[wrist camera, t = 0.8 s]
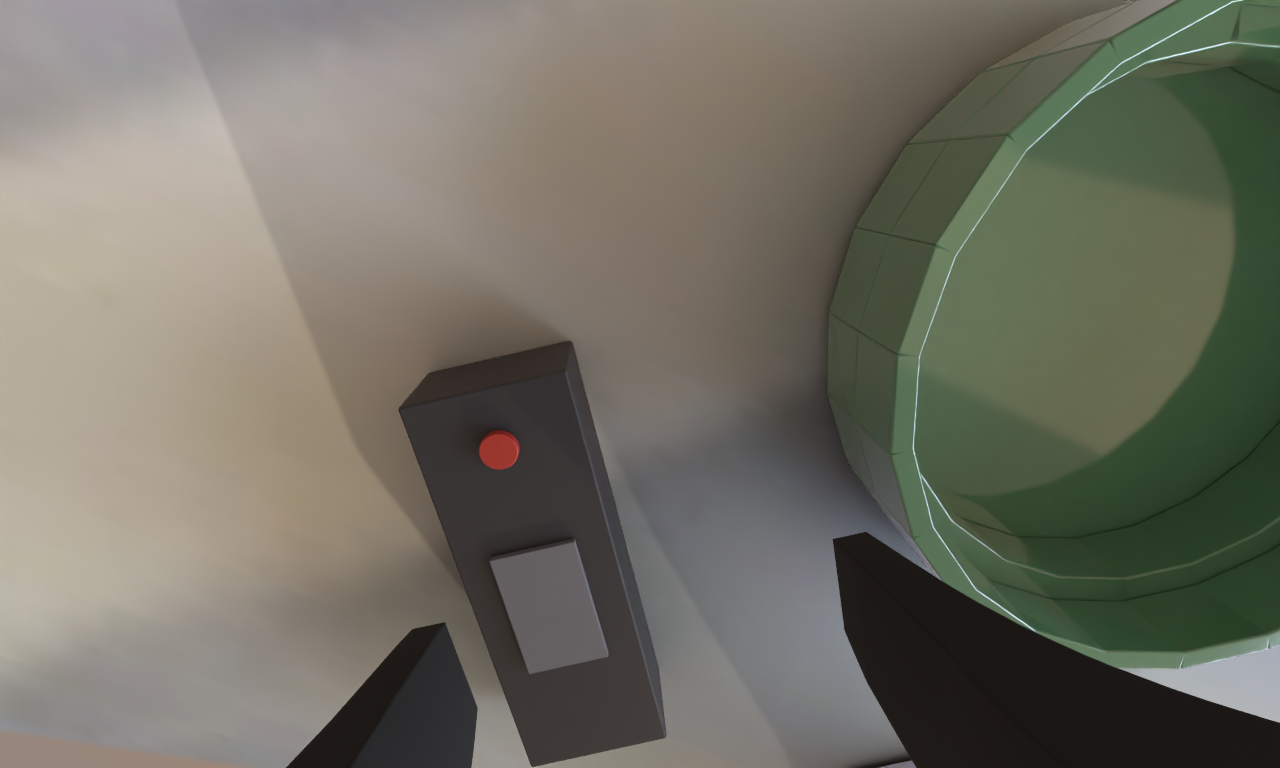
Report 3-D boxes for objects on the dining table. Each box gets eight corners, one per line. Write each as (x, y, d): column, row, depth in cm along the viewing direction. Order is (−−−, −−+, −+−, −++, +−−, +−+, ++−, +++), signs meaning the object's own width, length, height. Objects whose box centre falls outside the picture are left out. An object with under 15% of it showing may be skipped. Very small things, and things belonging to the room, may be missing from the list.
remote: (658, 668, 23) (668, 746, 20) (539, 694, 23) (530, 777, 20) (571, 339, 19) (565, 373, 16) (427, 372, 19) (392, 413, 16)
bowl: (1337, 502, 22) (1536, 592, 17) (851, 610, 22) (917, 727, 18) (1427, -62, 17) (1754, -154, 12) (781, 90, 17) (850, 58, 12)
